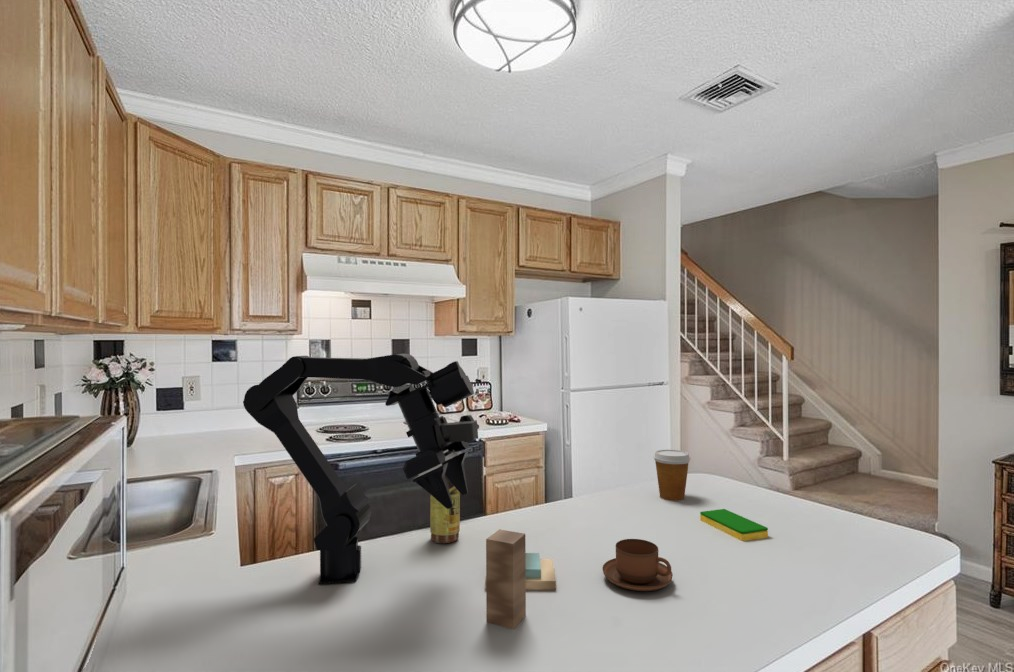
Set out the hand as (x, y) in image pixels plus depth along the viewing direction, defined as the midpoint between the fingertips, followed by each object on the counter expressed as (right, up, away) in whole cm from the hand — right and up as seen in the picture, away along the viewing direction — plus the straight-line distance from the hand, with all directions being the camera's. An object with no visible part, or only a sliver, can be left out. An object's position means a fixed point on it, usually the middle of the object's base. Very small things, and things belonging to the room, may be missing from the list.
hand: (458, 500), depth 92 cm
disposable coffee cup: (+53, -15, +50) cm, 74 cm away
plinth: (+11, -14, +2) cm, 18 cm away
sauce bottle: (-5, -15, +21) cm, 26 cm away
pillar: (+8, -14, -12) cm, 20 cm away
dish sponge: (+59, -15, +26) cm, 67 cm away
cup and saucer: (+31, -15, +1) cm, 35 cm away
